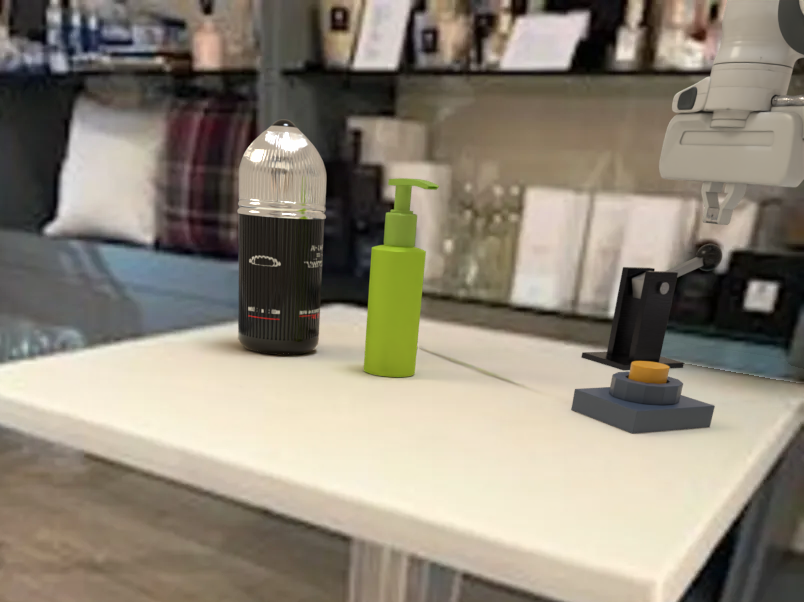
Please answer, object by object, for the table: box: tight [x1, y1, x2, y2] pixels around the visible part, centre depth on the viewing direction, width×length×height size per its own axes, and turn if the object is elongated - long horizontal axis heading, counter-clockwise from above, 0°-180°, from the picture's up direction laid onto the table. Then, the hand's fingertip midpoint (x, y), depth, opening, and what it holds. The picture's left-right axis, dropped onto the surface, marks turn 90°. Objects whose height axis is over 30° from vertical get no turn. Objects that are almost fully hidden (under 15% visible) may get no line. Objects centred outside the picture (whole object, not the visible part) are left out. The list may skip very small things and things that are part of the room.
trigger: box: [632, 243, 723, 299], centre depth 109 cm, size 13×3×3 cm, turn 116°
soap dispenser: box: [363, 177, 440, 378], centre depth 95 cm, size 6×7×20 cm
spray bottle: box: [236, 118, 327, 356], centre depth 103 cm, size 10×10×25 cm
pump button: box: [628, 361, 671, 384], centre depth 85 cm, size 4×4×2 cm
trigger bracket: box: [581, 266, 685, 371], centre depth 110 cm, size 10×8×12 cm
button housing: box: [570, 371, 716, 435], centre depth 86 cm, size 10×9×4 cm
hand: (715, 224), depth 109 cm, fingers closed
